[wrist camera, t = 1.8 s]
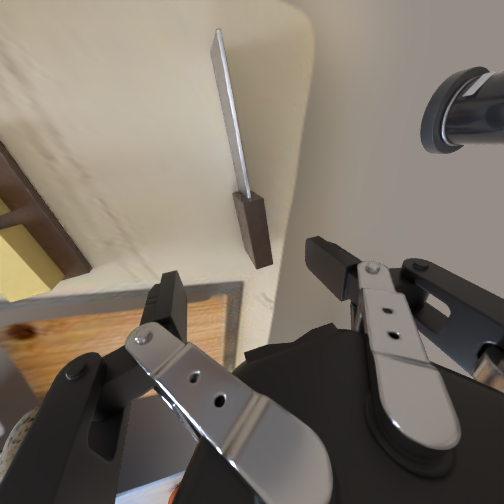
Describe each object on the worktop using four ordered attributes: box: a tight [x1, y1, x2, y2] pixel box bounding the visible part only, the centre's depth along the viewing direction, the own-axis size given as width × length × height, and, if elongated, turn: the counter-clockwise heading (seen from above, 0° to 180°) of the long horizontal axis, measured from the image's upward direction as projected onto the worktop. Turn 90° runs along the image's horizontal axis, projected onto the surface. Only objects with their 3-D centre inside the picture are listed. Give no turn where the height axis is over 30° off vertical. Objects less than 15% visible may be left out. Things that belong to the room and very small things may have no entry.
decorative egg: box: [0, 404, 41, 483], centre depth 30 cm, size 6×6×10 cm
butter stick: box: [0, 224, 65, 302], centre depth 21 cm, size 4×7×3 cm, turn 10°
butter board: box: [0, 142, 92, 281], centre depth 21 cm, size 9×16×1 cm, turn 10°
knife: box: [211, 29, 273, 269], centre depth 23 cm, size 23×2×6 cm, turn 10°
